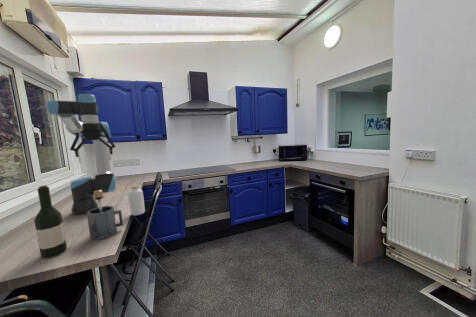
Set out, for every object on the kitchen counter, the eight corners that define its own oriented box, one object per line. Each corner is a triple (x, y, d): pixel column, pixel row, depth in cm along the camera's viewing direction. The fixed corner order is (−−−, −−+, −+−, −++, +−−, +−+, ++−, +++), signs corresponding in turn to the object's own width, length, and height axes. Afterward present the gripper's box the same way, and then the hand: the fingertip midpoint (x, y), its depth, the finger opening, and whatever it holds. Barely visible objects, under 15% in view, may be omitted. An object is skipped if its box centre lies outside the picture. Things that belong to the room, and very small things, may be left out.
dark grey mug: (91, 233, 102) (87, 209, 100) (122, 225, 109) (119, 203, 108) (89, 242, 92) (85, 216, 91) (124, 233, 100) (120, 208, 98)
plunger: (95, 226, 101) (89, 190, 98) (111, 222, 104) (106, 188, 102) (94, 231, 95) (88, 193, 93) (111, 227, 99) (106, 190, 96)
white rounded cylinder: (139, 216, 122) (135, 188, 120) (127, 216, 123) (124, 188, 121) (147, 211, 130) (144, 185, 128) (137, 211, 131) (133, 185, 129)
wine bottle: (52, 248, 89) (41, 184, 86) (71, 246, 90) (61, 183, 86) (35, 259, 81) (22, 189, 77) (56, 257, 81) (44, 187, 78)
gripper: (58, 123, 97) (65, 164, 99) (117, 122, 111) (121, 159, 113) (61, 124, 103) (68, 163, 106) (116, 123, 117) (121, 158, 119)
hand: (96, 161), depth 109 cm, fingers open, 13 cm apart
